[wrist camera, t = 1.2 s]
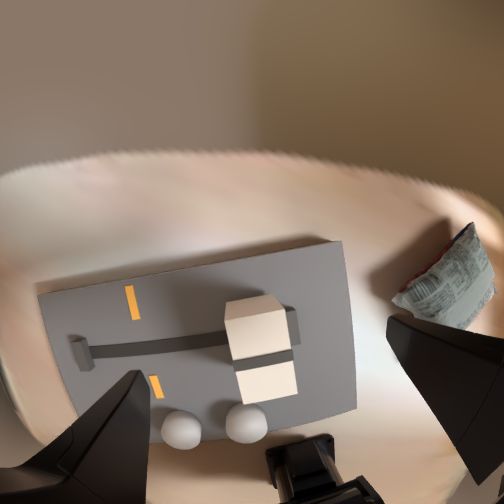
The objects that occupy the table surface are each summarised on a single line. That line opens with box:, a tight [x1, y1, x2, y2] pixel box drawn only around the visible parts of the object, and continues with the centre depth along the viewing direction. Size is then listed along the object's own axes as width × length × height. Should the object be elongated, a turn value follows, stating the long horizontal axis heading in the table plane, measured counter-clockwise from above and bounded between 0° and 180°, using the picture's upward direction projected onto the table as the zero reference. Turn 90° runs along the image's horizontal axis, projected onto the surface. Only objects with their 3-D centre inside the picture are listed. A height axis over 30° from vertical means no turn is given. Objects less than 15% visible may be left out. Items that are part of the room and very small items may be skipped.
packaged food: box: [391, 222, 498, 330], centre depth 19 cm, size 9×12×5 cm
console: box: [38, 241, 357, 450], centre depth 18 cm, size 24×14×4 cm, turn 100°
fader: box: [224, 294, 298, 404], centre depth 16 cm, size 3×5×5 cm, turn 10°
